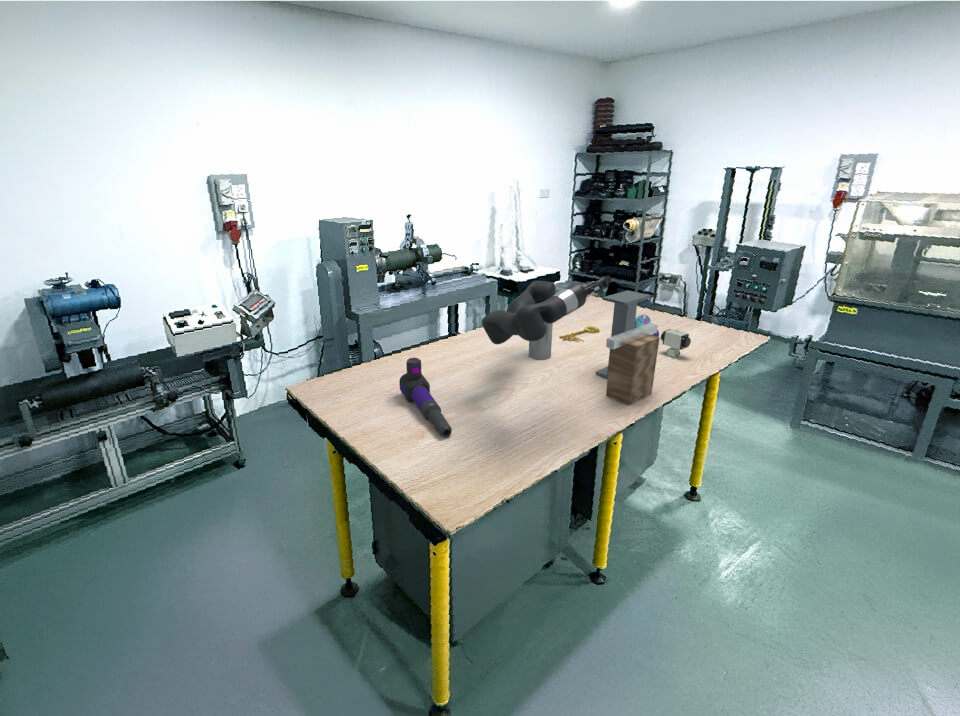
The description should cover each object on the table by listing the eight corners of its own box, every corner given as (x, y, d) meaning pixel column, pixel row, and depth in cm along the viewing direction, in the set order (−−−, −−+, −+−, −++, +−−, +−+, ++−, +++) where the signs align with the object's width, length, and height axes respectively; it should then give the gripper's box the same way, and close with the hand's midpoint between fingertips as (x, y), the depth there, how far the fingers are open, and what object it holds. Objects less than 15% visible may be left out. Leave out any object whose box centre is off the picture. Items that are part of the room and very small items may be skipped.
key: (557, 339, 237) (557, 336, 237) (590, 327, 253) (590, 324, 252) (575, 346, 230) (575, 343, 229) (607, 333, 245) (608, 330, 245)
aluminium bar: (613, 349, 162) (614, 340, 161) (605, 347, 164) (606, 338, 163) (656, 332, 178) (657, 324, 177) (649, 330, 180) (650, 322, 179)
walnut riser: (629, 405, 173) (636, 346, 165) (605, 395, 180) (611, 338, 172) (651, 393, 181) (659, 337, 173) (628, 384, 188) (634, 330, 180)
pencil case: (630, 330, 248) (632, 312, 244) (648, 331, 247) (651, 312, 243) (639, 345, 229) (641, 325, 225) (658, 345, 228) (661, 326, 224)
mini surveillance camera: (682, 361, 210) (686, 334, 206) (658, 353, 219) (661, 327, 214) (689, 358, 213) (693, 331, 209) (665, 350, 222) (668, 325, 217)
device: (433, 447, 152) (432, 406, 146) (398, 392, 182) (396, 356, 175) (459, 440, 156) (460, 400, 149) (421, 388, 185) (420, 352, 179)
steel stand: (616, 382, 190) (625, 302, 178) (595, 374, 197) (602, 297, 185) (640, 372, 200) (650, 295, 188) (619, 364, 207) (627, 290, 195)
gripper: (579, 284, 144) (612, 265, 152) (547, 293, 156) (579, 275, 164) (588, 308, 145) (621, 287, 153) (556, 315, 157) (588, 295, 165)
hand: (599, 281), depth 159 cm, fingers open, 8 cm apart
